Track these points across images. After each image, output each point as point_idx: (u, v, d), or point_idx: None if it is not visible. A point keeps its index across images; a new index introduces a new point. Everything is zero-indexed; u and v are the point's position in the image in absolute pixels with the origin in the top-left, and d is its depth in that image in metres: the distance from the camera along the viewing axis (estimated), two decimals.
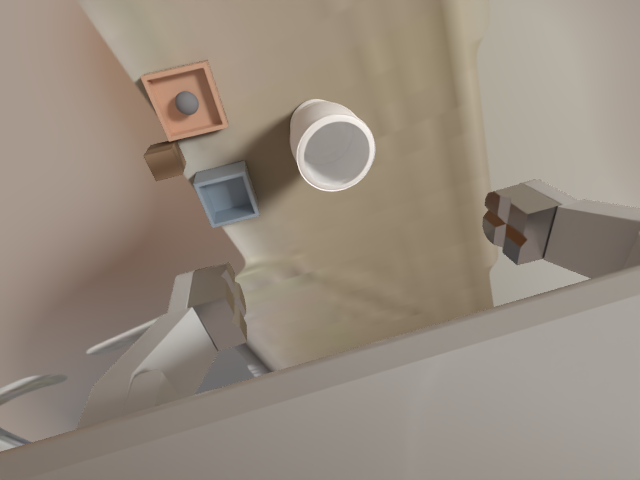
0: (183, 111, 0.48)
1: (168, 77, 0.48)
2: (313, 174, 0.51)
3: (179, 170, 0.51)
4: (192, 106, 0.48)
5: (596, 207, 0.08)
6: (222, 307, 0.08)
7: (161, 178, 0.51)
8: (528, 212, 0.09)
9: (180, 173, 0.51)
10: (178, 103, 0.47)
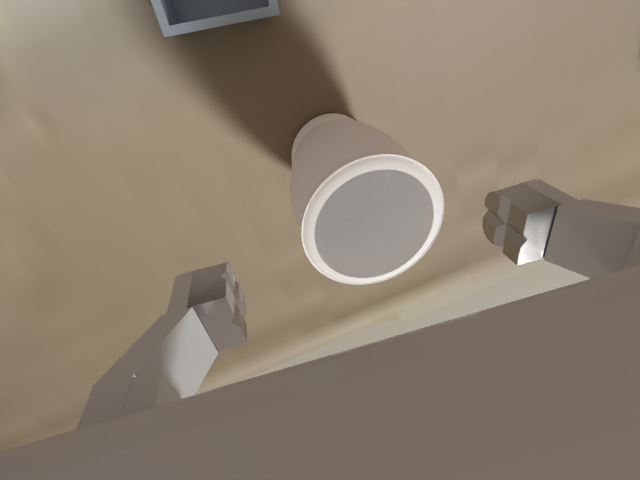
0: None
1: None
2: (296, 172, 0.26)
3: None
4: None
5: (596, 207, 0.08)
6: (222, 307, 0.08)
7: None
8: (528, 212, 0.09)
9: None
10: None
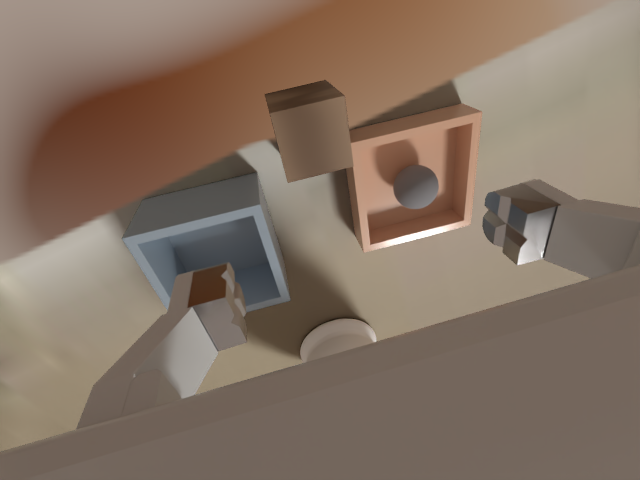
0: (412, 188, 0.23)
1: (450, 150, 0.25)
2: None
3: (299, 177, 0.20)
4: (417, 206, 0.24)
5: (596, 207, 0.08)
6: (222, 307, 0.08)
7: (277, 129, 0.18)
8: (528, 212, 0.09)
9: (290, 178, 0.20)
10: (429, 181, 0.23)
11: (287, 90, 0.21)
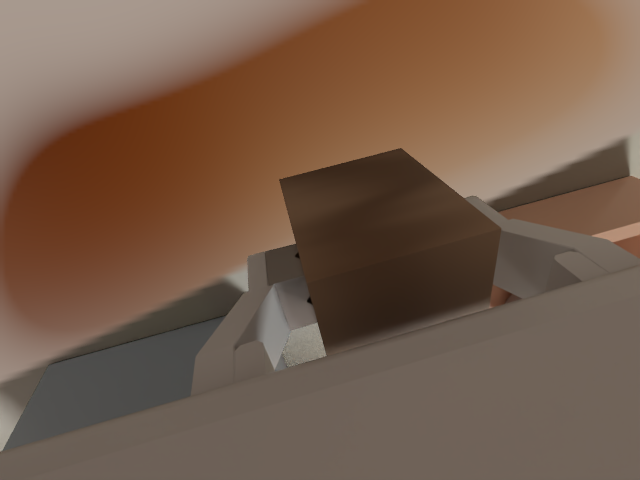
0: None
1: None
2: None
3: None
4: None
5: (522, 228, 0.08)
6: (300, 285, 0.09)
7: (324, 312, 0.07)
8: None
9: None
10: None
11: (327, 174, 0.10)
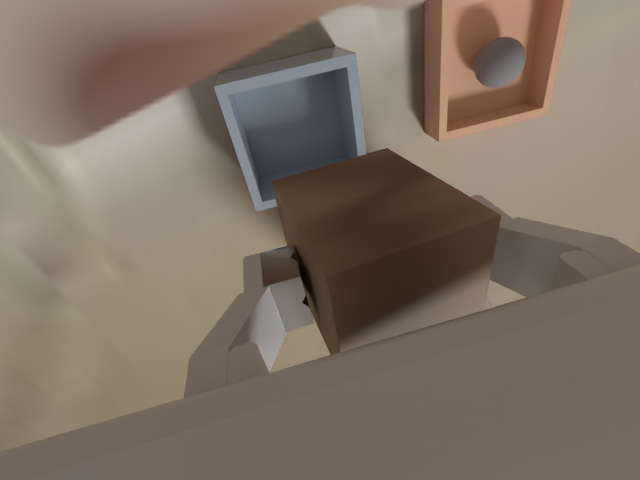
0: (501, 57, 0.22)
1: (533, 27, 0.24)
2: None
3: None
4: (503, 80, 0.23)
5: (527, 226, 0.08)
6: (296, 287, 0.09)
7: (341, 306, 0.07)
8: None
9: None
10: (519, 49, 0.22)
11: (319, 174, 0.10)
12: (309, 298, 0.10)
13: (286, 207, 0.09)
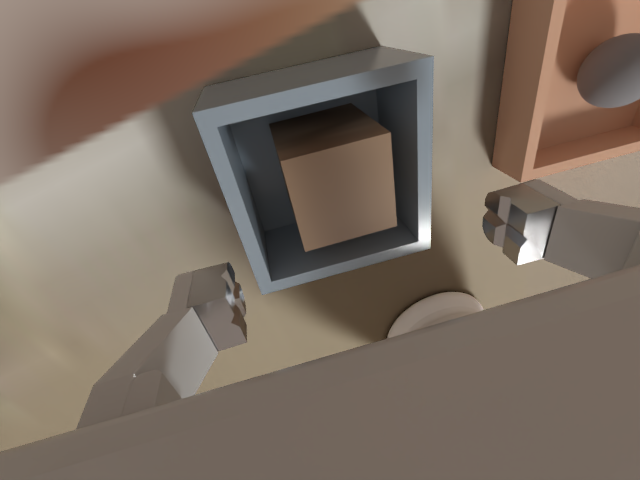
0: (634, 63, 0.15)
1: None
2: None
3: (321, 244, 0.14)
4: (630, 97, 0.16)
5: (596, 207, 0.08)
6: (222, 307, 0.08)
7: (291, 183, 0.12)
8: (528, 212, 0.09)
9: (309, 246, 0.14)
10: None
11: (300, 118, 0.15)
12: (290, 202, 0.16)
13: (272, 135, 0.14)
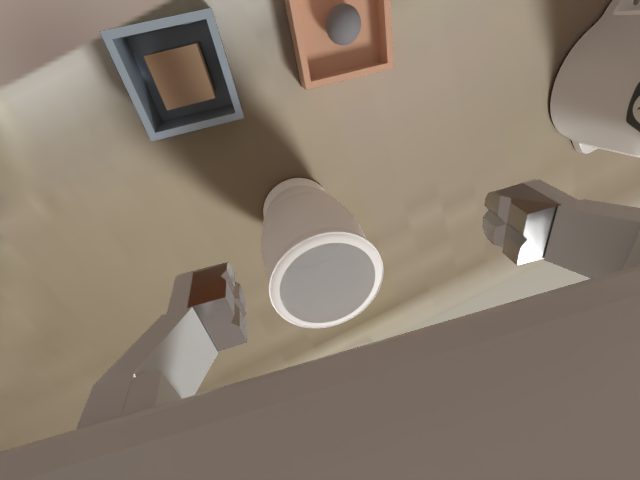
0: (338, 17, 0.29)
1: None
2: (264, 238, 0.32)
3: (175, 106, 0.28)
4: (344, 36, 0.30)
5: (596, 208, 0.08)
6: (222, 307, 0.08)
7: (151, 68, 0.26)
8: (528, 212, 0.09)
9: (168, 107, 0.28)
10: (351, 11, 0.29)
11: None
12: None
13: None
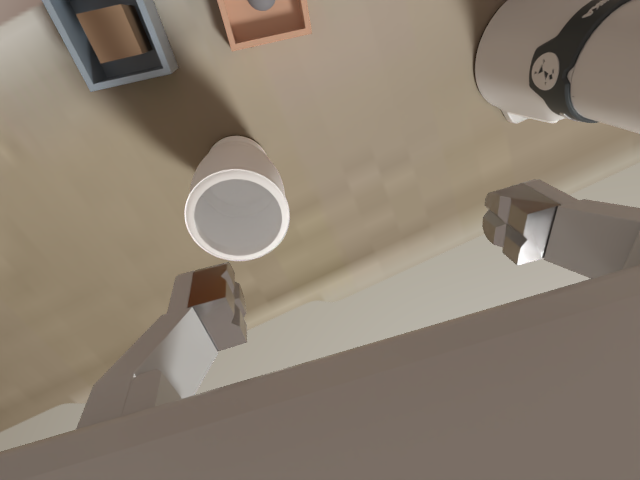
0: None
1: None
2: None
3: (107, 60, 0.32)
4: (259, 2, 0.34)
5: (596, 207, 0.08)
6: (222, 307, 0.08)
7: (83, 25, 0.31)
8: (528, 212, 0.09)
9: (102, 60, 0.32)
10: None
11: None
12: None
13: None
